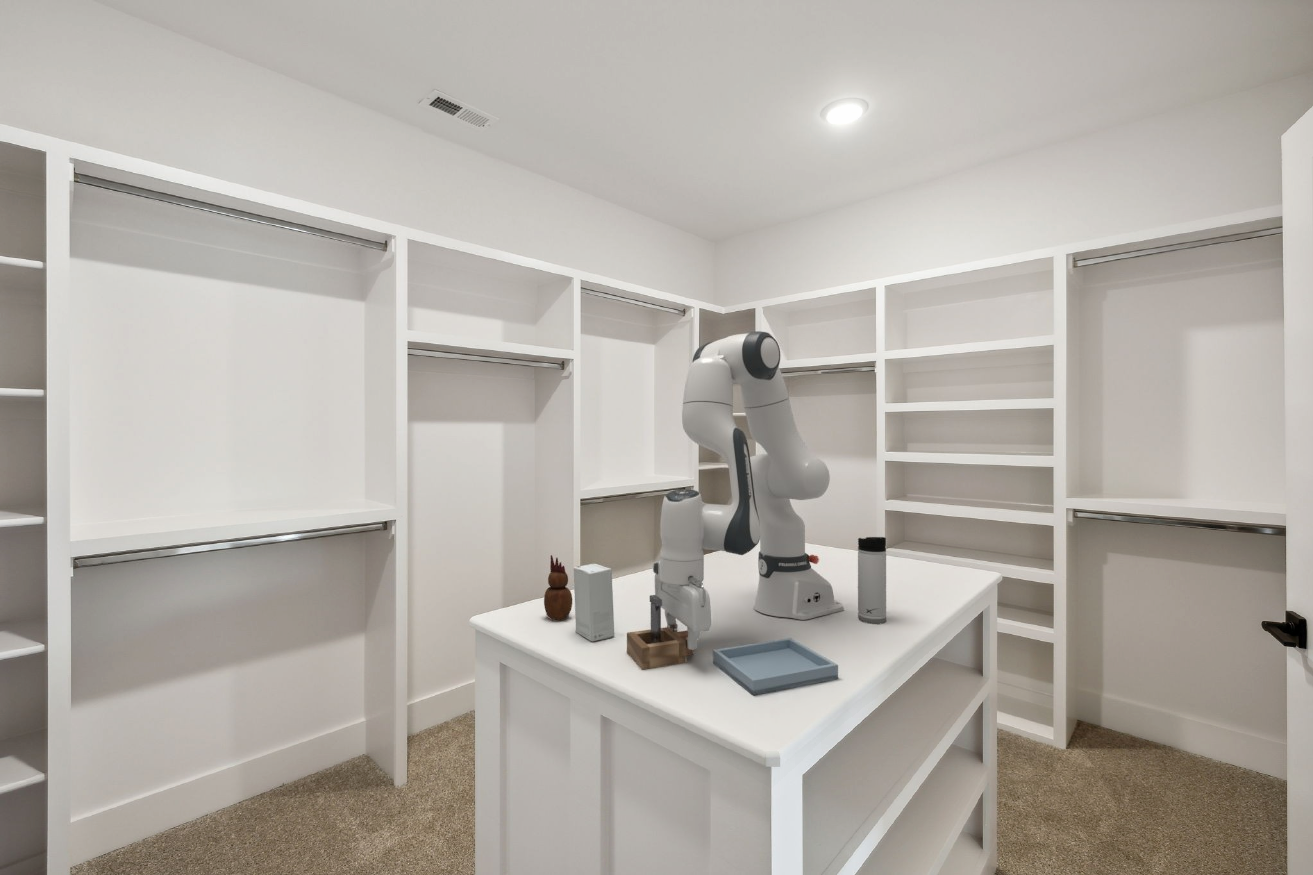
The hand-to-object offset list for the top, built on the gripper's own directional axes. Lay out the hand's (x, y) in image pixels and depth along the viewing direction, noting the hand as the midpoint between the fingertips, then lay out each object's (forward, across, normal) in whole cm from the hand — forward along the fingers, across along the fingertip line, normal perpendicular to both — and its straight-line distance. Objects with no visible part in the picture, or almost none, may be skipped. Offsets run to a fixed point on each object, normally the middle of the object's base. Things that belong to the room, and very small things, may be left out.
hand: (681, 640), depth 113 cm
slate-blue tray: (+2, -14, -12) cm, 19 cm away
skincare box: (+3, +17, +14) cm, 22 cm away
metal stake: (+3, 0, +6) cm, 6 cm away
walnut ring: (+3, 0, +4) cm, 5 cm away
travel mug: (+2, +2, -50) cm, 51 cm away
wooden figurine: (+3, +31, +19) cm, 36 cm away
